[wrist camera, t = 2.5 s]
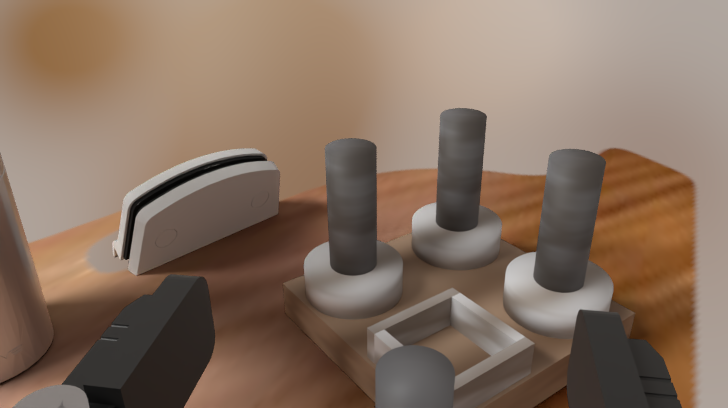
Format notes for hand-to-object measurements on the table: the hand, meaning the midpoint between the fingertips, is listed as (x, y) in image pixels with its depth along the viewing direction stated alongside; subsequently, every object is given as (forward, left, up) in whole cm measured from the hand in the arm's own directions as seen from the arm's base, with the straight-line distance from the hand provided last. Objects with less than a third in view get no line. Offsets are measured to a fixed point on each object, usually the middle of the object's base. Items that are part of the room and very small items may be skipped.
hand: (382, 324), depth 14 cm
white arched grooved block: (-45, +12, -24) cm, 52 cm away
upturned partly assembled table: (-20, +22, -23) cm, 38 cm away
